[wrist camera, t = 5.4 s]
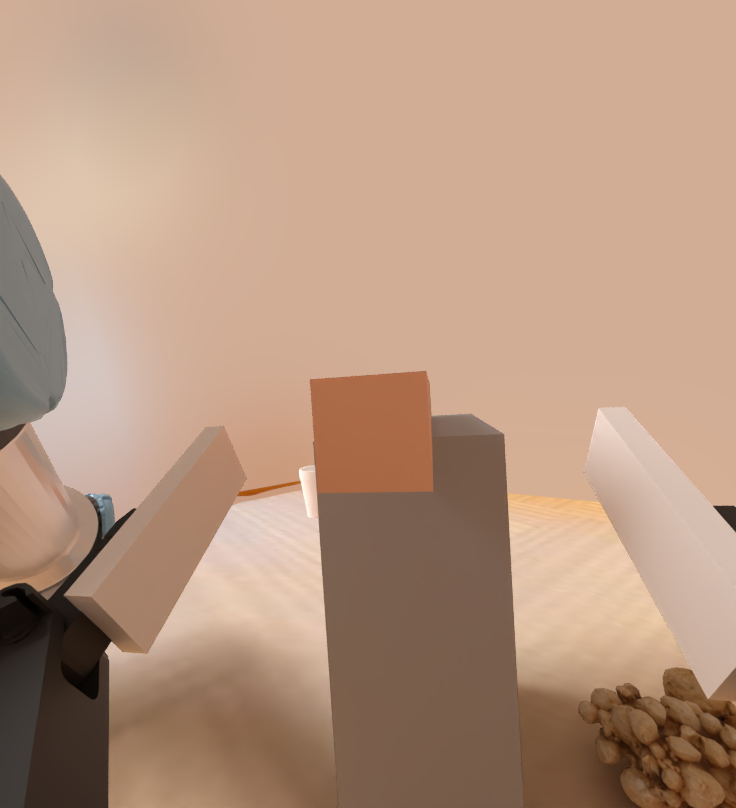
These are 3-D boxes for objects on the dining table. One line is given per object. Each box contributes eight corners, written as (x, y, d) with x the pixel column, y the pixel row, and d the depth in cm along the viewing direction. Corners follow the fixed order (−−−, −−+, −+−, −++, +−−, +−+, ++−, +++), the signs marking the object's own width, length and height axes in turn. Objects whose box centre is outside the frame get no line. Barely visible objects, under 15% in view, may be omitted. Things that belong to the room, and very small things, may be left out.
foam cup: (311, 508, 106) (308, 464, 106) (340, 508, 104) (337, 464, 103) (296, 519, 97) (293, 472, 97) (328, 520, 95) (324, 471, 94)
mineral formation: (924, 954, 20) (616, 867, 23) (739, 754, 33) (558, 718, 36) (904, 791, 21) (611, 732, 24) (731, 660, 34) (557, 634, 37)
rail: (433, 491, 10) (426, 370, 10) (317, 493, 11) (309, 379, 11) (431, 417, 38) (429, 384, 38) (398, 418, 39) (396, 386, 38)
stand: (529, 910, 22) (503, 434, 21) (343, 877, 24) (313, 442, 24) (485, 680, 40) (470, 413, 39) (380, 672, 42) (363, 419, 41)
